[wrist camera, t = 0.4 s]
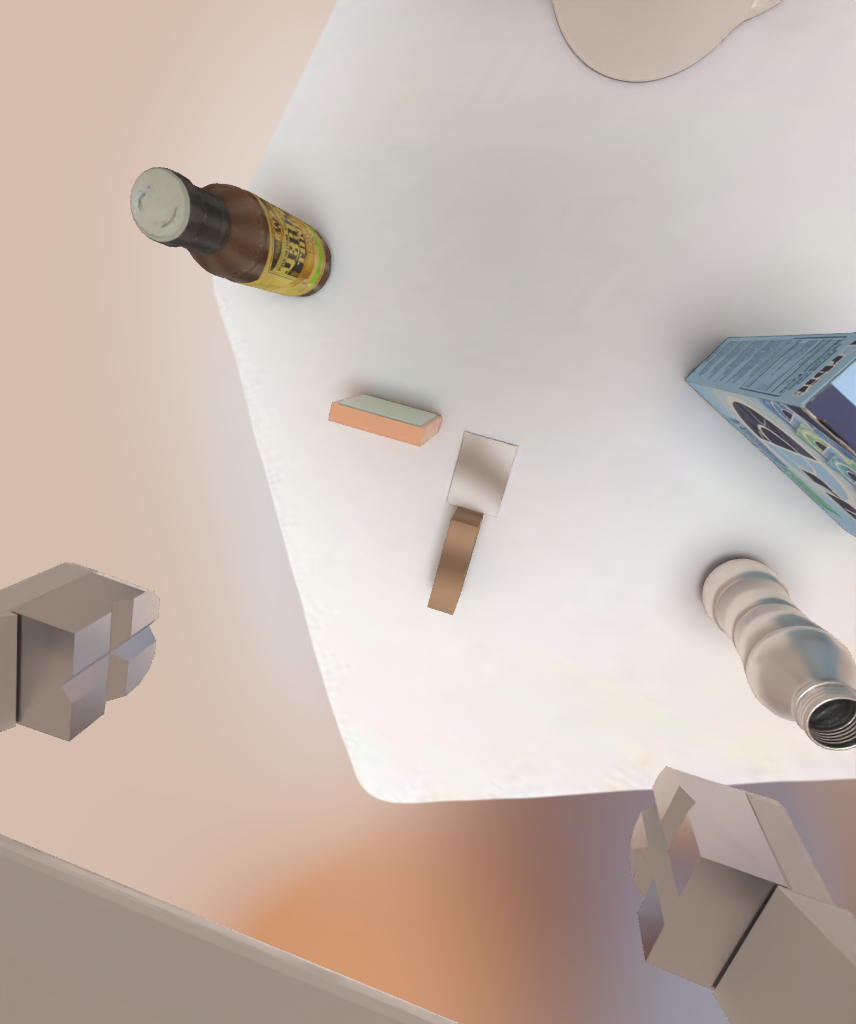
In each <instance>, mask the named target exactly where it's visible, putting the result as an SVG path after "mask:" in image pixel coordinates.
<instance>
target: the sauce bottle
mask: <svg viewBox="0 0 856 1024" xmlns="http://www.w3.org/2000/svg"><path fill="white" fill-rule="evenodd" d="M130 203H131V212H132V215H133V218H134V221H135V222H136V225H137V226H138V228H139V229H140V230H141V232H142V233H144V234H145V235H146V236H147V237H148V238H150V239H152V240H154V241H156V242H158V243H161V244H164V245H166V246H169V247H179V246H181V247H184V248H186V249H187V250H188V251H189V252H190V254H191V255H192V257H193V258H194V259H195V260H196V261H197V263H198V264H199V265H200V266H201V267H203V268H204V269H205V270H206V271H208V272H209V273H211V274H213V275H216V276H219V277H222V278H226V279H228V280H230V281H232V282H236V283H239V284H243V285H247V286H251V287H255V288H259V289H263V290H267V291H271V292H275V293H278V294H282V295H286V296H300V297H305V296H309V295H311V294H313V293H315V292H317V291H318V290H319V289H320V288H321V287H322V285H323V284H324V283H325V281H326V280H327V277H328V273H329V266H330V253H329V250H328V248H327V246H326V244H325V242H324V241H323V239H322V237H321V236H320V235H319V233H318V232H317V231H315V230H314V229H313V228H311V227H310V226H309V225H307V224H306V223H304V222H302V221H300V220H299V219H297V218H295V217H293V216H292V215H290V214H288V213H287V212H285V211H283V210H281V209H280V208H278V207H276V206H274V205H272V204H270V203H268V202H267V201H265V200H263V199H262V198H260V197H258V196H257V195H255V194H253V193H251V192H249V191H247V190H242V189H241V188H238V187H236V186H233V185H228V184H218V183H216V184H210V185H207V186H205V187H203V188H199V187H197V186H195V185H193V184H192V183H191V182H190V180H189V179H187V178H186V177H184V176H183V175H181V174H179V173H177V172H174V171H173V170H170V169H168V168H161V167H158V168H151V169H149V170H146V171H144V172H143V173H142V174H141V175H140V176H139V177H138V178H137V180H136V181H135V184H134V186H133V188H132V191H131V196H130Z"/></svg>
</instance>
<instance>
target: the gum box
mask: <svg viewBox="0 0 856 1024" xmlns="http://www.w3.org/2000/svg"><path fill="white" fill-rule="evenodd" d="M685 381H686V382H687V383H688V384H689V385H690V386H692V387H693V388H694V389H695V390H696V391H697V392H698V393H699V394H700V395H701V396H702V397H703V398H704V399H705V400H706V401H707V402H708V403H709V404H711V405H712V406H713V407H714V408H715V409H716V410H717V411H718V412H719V413H720V414H721V415H722V416H723V417H725V418H726V419H727V420H728V421H729V422H730V423H731V424H732V425H733V426H734V427H735V428H737V429H738V430H739V431H740V432H741V433H742V434H743V435H744V436H745V437H746V438H748V439H749V440H750V441H751V442H752V443H753V444H754V445H755V446H756V447H757V448H759V449H760V450H761V451H762V452H763V453H764V454H765V455H766V456H767V457H768V458H769V459H770V460H772V461H773V462H774V463H775V464H776V465H777V466H778V467H779V468H780V469H781V470H782V471H783V472H784V473H785V474H786V475H787V476H788V477H790V478H791V479H792V480H793V481H794V482H795V483H796V484H797V485H798V486H799V487H800V488H801V489H802V490H803V491H804V492H805V493H806V494H808V495H809V496H810V497H811V498H812V499H813V500H814V501H815V502H816V503H817V504H818V505H819V506H820V507H822V508H823V509H824V510H825V511H826V512H827V513H828V514H829V515H830V516H831V517H832V518H833V519H834V520H835V521H836V522H837V523H838V524H839V525H840V526H841V527H842V528H844V529H845V530H846V531H847V532H849V533H851V534H852V535H854V536H855V537H856V332H854V333H837V334H811V335H785V336H758V337H729V338H727V339H726V340H725V341H724V342H723V343H722V344H721V345H720V346H719V347H718V348H717V349H716V350H715V351H714V352H713V353H712V354H711V355H710V356H709V357H708V358H707V359H706V360H705V361H703V362H702V363H701V364H700V365H699V366H698V367H697V368H696V369H695V370H694V371H693V372H692V373H691V374H690V375H689V376H688V377H687V378H686V379H685Z"/></svg>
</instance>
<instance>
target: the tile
mask: <svg viewBox="0 0 856 1024" xmlns="http://www.w3.org/2000/svg"><path fill="white" fill-rule="evenodd" d="M441 420H442V417H441V416H438V414H434V413H430V412H427V411H423V410H420V409H416V408H412V407H409V406H405V405H402V404H398V403H394V402H391V401H387V400H384V399H380V398H376V397H373V396H369V395H366V394H364V395H358V396H354V397H351V398H347V399H343V400H339V401H336V402H332V404H331V409H330V414H329V421H333V422H336V423H340V424H343V425H346V426H350V427H353V428H357V429H360V430H364V431H367V432H371V433H374V434H378V435H381V436H385V437H388V438H392V439H395V440H399V441H402V442H406V443H409V444H413V445H416V446H422V445H423V444H424V443H425V442H427V441H428V440H429V439H430V438H432V437H433V436H434V435H435V434H437V433H438V432H439V428H440V424H441Z"/></svg>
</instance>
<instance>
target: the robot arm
mask: <svg viewBox="0 0 856 1024" xmlns="http://www.w3.org/2000/svg"><path fill="white" fill-rule="evenodd" d="M781 1H782V0H552V2H553V6H554V10H555V14H556V18H557V21H558V24H559V26H560V29H561V31H562V33H563V35H564V37H565V39H566V41H567V43H568V44H569V46H570V47H571V49H572V50H573V51H574V52H575V54H576V55H577V56H578V57H579V58H580V59H581V60H582V61H583V62H584V63H586V64H587V65H588V66H589V67H591V68H592V69H594V70H595V71H597V72H599V73H601V74H603V75H605V76H608V77H611V78H614V79H618V80H623V81H633V82H640V81H651V80H656V79H660V78H664V77H667V76H670V75H673V74H675V73H678V72H680V71H682V70H684V69H686V68H688V67H690V66H691V65H693V64H694V63H696V62H697V61H699V60H700V59H702V58H703V57H704V56H706V55H707V54H708V53H709V52H711V51H712V50H713V49H714V48H715V47H716V46H717V45H718V44H719V43H720V42H721V41H722V40H723V39H724V38H725V37H726V36H727V35H728V34H729V33H730V32H731V31H732V30H734V29H735V28H736V27H737V26H738V25H739V24H741V23H742V22H743V21H745V20H748V19H750V18H752V17H754V16H756V15H759V14H761V13H763V12H765V11H767V10H769V9H771V8H772V7H774V6H775V5H777V4H778V3H780V2H781ZM159 601H160V599H159V597H158V596H157V595H156V594H155V592H154V591H151V590H148V589H145V588H143V587H140V586H137V585H134V584H132V583H129V582H127V581H123V580H121V579H118V578H115V577H113V576H110V575H107V574H105V573H100V572H98V571H96V570H94V569H91V568H87V567H84V566H81V565H78V564H75V563H63V564H60V565H58V566H56V567H53V568H51V569H49V570H46V571H44V572H42V573H39V574H37V575H35V576H32V577H30V578H28V579H25V580H23V581H21V582H19V583H16V584H14V585H11V586H9V587H7V588H4V589H2V590H0V732H2V731H5V730H7V729H10V728H13V727H15V726H16V723H17V724H20V725H23V726H26V727H29V728H32V729H34V730H38V731H40V732H43V733H46V734H49V735H52V736H55V737H57V738H60V739H63V740H66V741H71V740H72V739H73V738H74V737H75V736H77V735H78V734H79V733H81V732H82V731H83V730H84V729H86V728H87V727H88V726H89V725H91V724H92V723H93V722H94V721H95V720H97V719H98V718H99V717H100V716H102V715H103V714H104V711H105V704H106V701H109V700H113V699H116V698H120V697H124V696H126V695H127V694H128V693H130V692H131V691H132V690H133V689H134V688H135V687H136V686H138V685H139V684H140V682H141V681H142V679H143V678H144V676H145V675H146V673H147V672H148V670H149V669H150V666H151V663H152V660H153V657H154V654H155V647H156V640H155V638H154V635H153V633H152V632H151V629H150V627H149V625H150V624H152V623H153V622H154V621H155V620H156V619H157V618H158V617H159ZM653 792H654V796H655V800H656V804H655V805H653V806H651V807H649V808H647V809H645V810H643V811H641V814H640V816H639V818H638V820H637V823H636V825H635V828H634V831H633V836H632V841H631V847H630V870H631V877H632V882H633V883H634V885H635V886H636V888H637V889H638V890H639V892H640V893H641V895H642V896H643V897H644V899H643V901H642V903H641V905H640V907H639V909H638V911H637V915H638V921H639V927H640V933H641V938H642V945H643V951H644V956H645V962H647V963H649V964H651V965H654V966H656V967H658V968H661V969H663V970H666V971H668V972H670V973H673V974H676V975H678V976H681V977H683V978H685V979H688V980H690V981H692V982H695V983H697V984H699V985H702V986H704V987H707V988H709V989H711V990H714V992H713V995H714V997H715V999H716V1000H717V1002H718V1003H719V1005H720V1007H721V1008H722V1010H723V1011H724V1013H725V1015H726V1016H727V1018H728V1020H729V1021H730V1023H731V1024H856V917H855V916H854V915H853V914H852V913H851V912H849V911H848V910H845V909H842V908H840V907H837V906H835V904H834V902H833V900H832V898H831V896H830V895H829V893H828V891H827V889H826V887H825V885H824V883H823V881H822V879H821V877H820V876H819V873H818V872H817V870H816V868H815V866H814V864H813V862H812V860H811V858H810V856H809V854H808V852H807V851H806V849H805V847H804V845H803V843H802V841H801V839H800V837H799V835H798V834H797V832H796V830H795V828H794V826H793V824H792V822H791V820H790V818H789V816H788V814H787V812H786V810H785V809H784V807H783V806H782V805H780V804H779V803H778V802H777V801H776V800H773V799H770V798H767V797H763V796H760V795H757V794H754V793H750V792H747V791H744V790H740V789H735V788H732V787H729V786H726V785H723V784H719V783H716V782H713V781H710V780H707V779H704V778H701V777H698V776H695V775H692V774H689V773H685V772H682V771H679V770H676V769H673V768H670V767H667V766H666V767H665V768H664V769H663V770H662V771H661V773H660V774H659V775H658V777H657V779H656V782H655V784H654V786H653ZM0 1024H460V1023H457V1022H455V1021H453V1020H450V1019H448V1018H445V1017H443V1016H441V1015H438V1014H436V1013H433V1012H431V1011H428V1010H426V1009H424V1008H421V1007H419V1006H416V1005H414V1004H412V1003H409V1002H407V1001H404V1000H402V999H399V998H397V997H395V996H392V995H390V994H387V993H385V992H382V991H380V990H378V989H375V988H373V987H370V986H368V985H365V984H363V983H361V982H358V981H356V980H353V979H351V978H348V977H346V976H343V975H341V974H339V973H336V972H334V971H332V970H329V969H327V968H324V967H322V966H319V965H317V964H315V963H312V962H310V961H307V960H305V959H302V958H300V957H298V956H295V955H293V954H290V953H288V952H285V951H283V950H281V949H278V948H275V947H273V946H271V945H268V944H266V943H264V942H261V941H259V940H256V939H254V938H251V937H249V936H246V935H244V934H242V933H239V932H237V931H234V930H232V929H230V928H227V927H225V926H222V925H220V924H217V923H215V922H212V921H210V920H208V919H205V918H203V917H200V916H198V915H195V914H193V913H191V912H188V911H186V910H183V909H181V908H178V907H176V906H174V905H171V904H169V903H166V902H164V901H162V900H159V899H157V898H154V897H152V896H149V895H147V894H145V893H142V892H140V891H137V890H135V889H132V888H130V887H128V886H125V885H123V884H120V883H118V882H115V881H113V880H111V879H108V878H106V877H103V876H101V875H98V874H96V873H94V872H91V871H89V870H86V869H84V868H82V867H79V866H77V865H74V864H72V863H69V862H67V861H64V860H62V859H60V858H57V857H55V856H52V855H50V854H47V853H45V852H43V851H40V850H38V849H35V848H33V847H31V846H28V845H26V844H23V843H20V842H18V841H16V840H14V839H11V838H9V837H6V836H4V835H1V834H0Z"/></svg>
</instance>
